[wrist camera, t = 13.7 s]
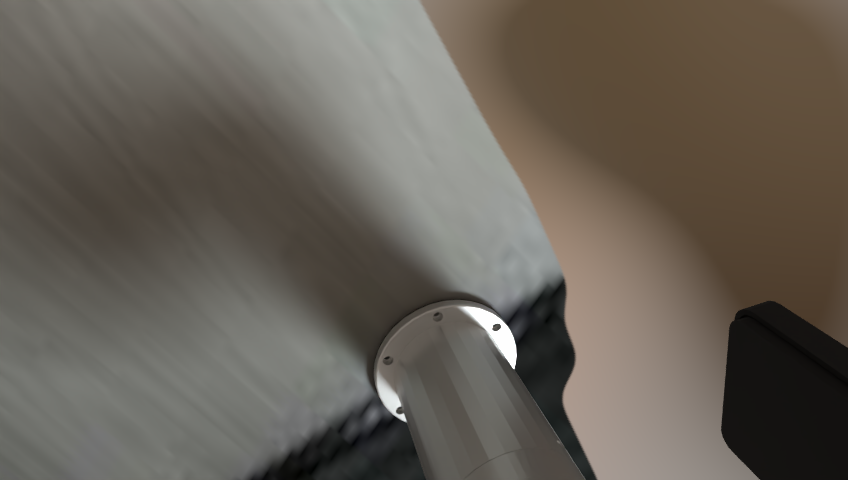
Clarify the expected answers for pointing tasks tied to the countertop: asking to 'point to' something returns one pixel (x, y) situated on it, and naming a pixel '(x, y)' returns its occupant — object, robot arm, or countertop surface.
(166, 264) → the countertop surface
